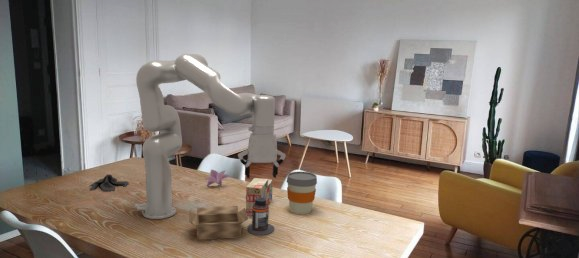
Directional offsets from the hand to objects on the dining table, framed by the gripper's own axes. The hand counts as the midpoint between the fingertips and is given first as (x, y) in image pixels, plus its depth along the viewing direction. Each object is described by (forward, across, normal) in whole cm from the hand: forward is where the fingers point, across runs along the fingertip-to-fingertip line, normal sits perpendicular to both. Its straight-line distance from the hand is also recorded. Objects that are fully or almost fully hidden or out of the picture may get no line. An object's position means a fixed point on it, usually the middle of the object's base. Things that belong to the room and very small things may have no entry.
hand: (261, 176), depth 149 cm
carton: (+20, -15, 0) cm, 25 cm away
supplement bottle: (+20, 0, 0) cm, 20 cm away
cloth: (+23, -64, +59) cm, 90 cm away
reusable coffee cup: (+20, +20, +17) cm, 33 cm away
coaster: (+20, +1, 0) cm, 20 cm away
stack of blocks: (+21, +4, +22) cm, 31 cm away
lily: (+21, -13, +50) cm, 56 cm away
